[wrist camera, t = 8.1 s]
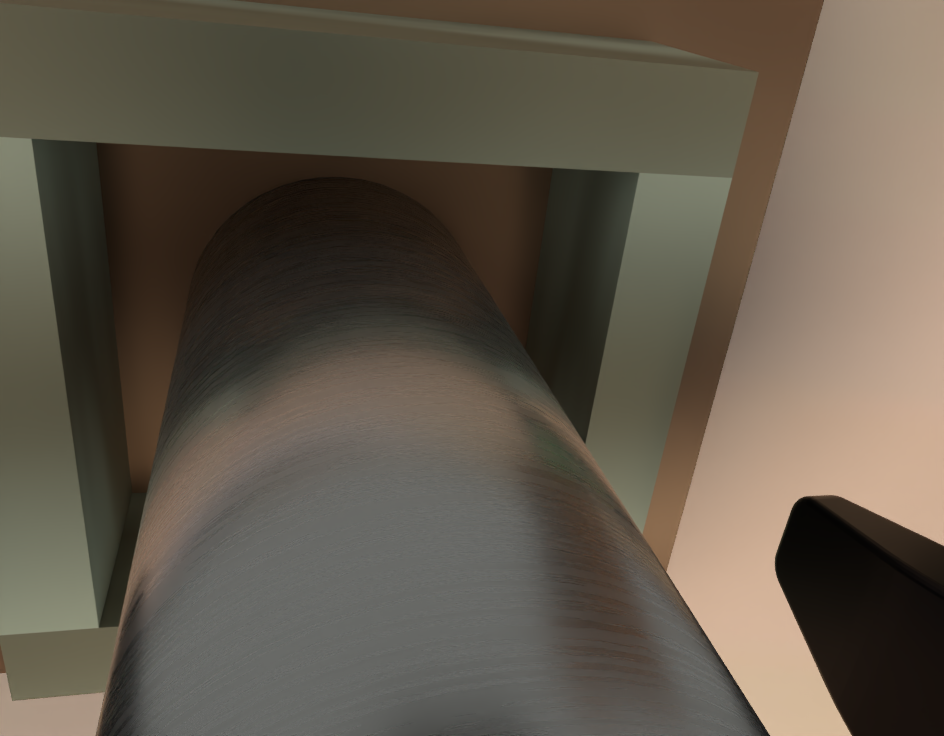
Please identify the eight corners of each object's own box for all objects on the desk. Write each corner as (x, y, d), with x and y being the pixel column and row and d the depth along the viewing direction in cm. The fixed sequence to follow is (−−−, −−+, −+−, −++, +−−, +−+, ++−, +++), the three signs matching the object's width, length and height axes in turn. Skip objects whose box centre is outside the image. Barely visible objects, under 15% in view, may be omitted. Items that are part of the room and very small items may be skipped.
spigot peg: (459, 433, 14) (766, 1204, 6) (194, 441, 13) (62, 1410, 4) (489, 183, 12) (1029, 776, 4) (179, 168, 11) (-109, 964, 2)
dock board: (635, 584, 18) (720, 735, 15) (-63, 637, 15) (-162, 846, 12) (821, -138, 12) (1042, -167, 9) (-314, -325, 9) (-699, -494, 5)
